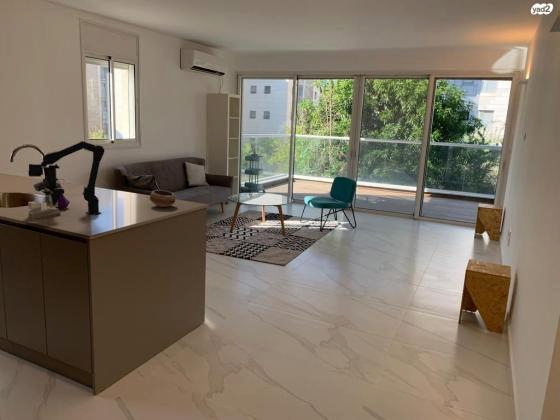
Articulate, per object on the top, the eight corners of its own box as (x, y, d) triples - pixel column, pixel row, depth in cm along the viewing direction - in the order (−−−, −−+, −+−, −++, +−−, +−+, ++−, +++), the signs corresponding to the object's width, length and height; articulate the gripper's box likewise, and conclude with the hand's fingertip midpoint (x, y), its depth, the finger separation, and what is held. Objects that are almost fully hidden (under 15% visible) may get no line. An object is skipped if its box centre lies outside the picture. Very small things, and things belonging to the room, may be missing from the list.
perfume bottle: (53, 209, 255) (51, 179, 252) (56, 207, 262) (55, 177, 259) (66, 210, 257) (65, 179, 253) (70, 207, 264) (69, 177, 260)
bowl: (168, 210, 272) (168, 194, 270) (145, 207, 275) (145, 192, 273) (179, 205, 287) (179, 190, 285) (157, 203, 290) (157, 188, 288)
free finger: (57, 206, 242) (57, 196, 241) (49, 207, 239) (49, 196, 238) (53, 205, 245) (53, 194, 244) (45, 206, 242) (45, 195, 241)
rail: (60, 215, 244) (59, 201, 242) (33, 218, 233) (32, 203, 231) (55, 213, 247) (54, 199, 246) (28, 216, 237) (28, 202, 235)
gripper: (27, 175, 239) (29, 203, 242) (42, 179, 227) (44, 209, 230) (48, 174, 247) (50, 201, 250) (64, 178, 235) (65, 206, 239)
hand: (52, 204), depth 242 cm, fingers closed on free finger, 5 cm apart
